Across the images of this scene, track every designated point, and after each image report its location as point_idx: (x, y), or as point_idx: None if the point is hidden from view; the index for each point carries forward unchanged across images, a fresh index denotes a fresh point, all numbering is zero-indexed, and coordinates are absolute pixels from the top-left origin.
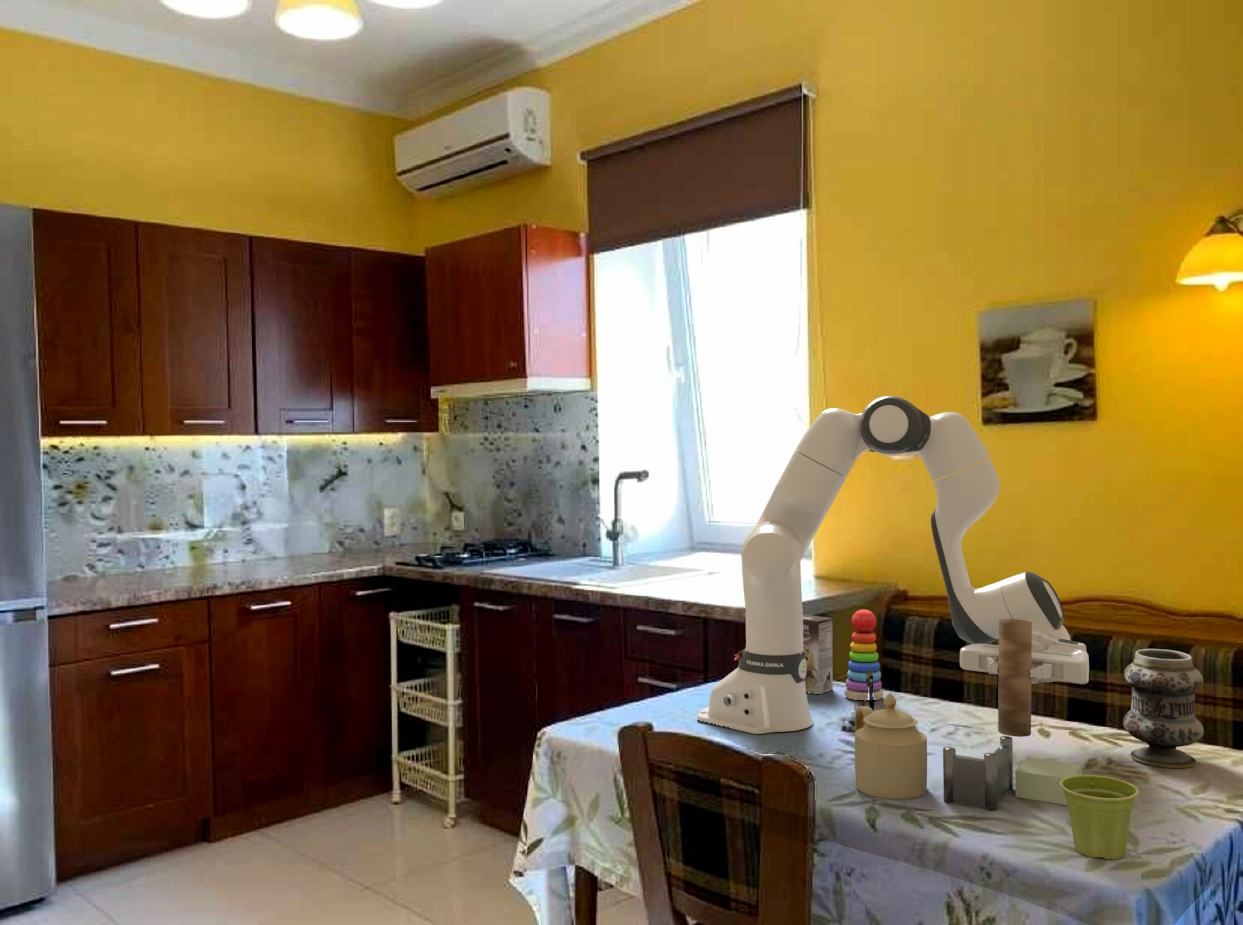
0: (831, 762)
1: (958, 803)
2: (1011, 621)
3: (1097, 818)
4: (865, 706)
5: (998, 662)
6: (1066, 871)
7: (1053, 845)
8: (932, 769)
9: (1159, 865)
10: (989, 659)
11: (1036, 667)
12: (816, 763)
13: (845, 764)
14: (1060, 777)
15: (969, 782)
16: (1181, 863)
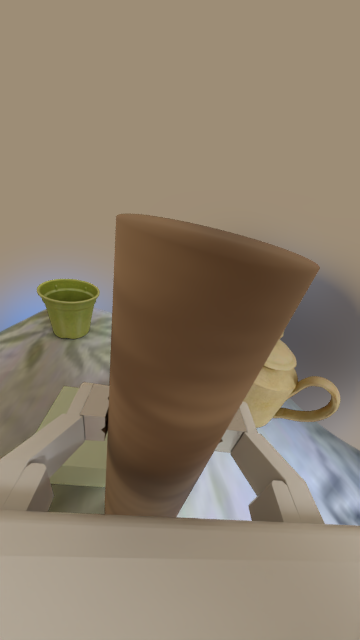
0: (335, 452)
1: None
2: (238, 241)
3: (77, 295)
4: (330, 383)
5: (231, 426)
6: (100, 311)
7: (103, 332)
8: (245, 484)
9: (36, 320)
10: (279, 455)
11: (90, 400)
12: (339, 440)
13: (321, 451)
14: (77, 388)
15: None
16: (15, 324)
